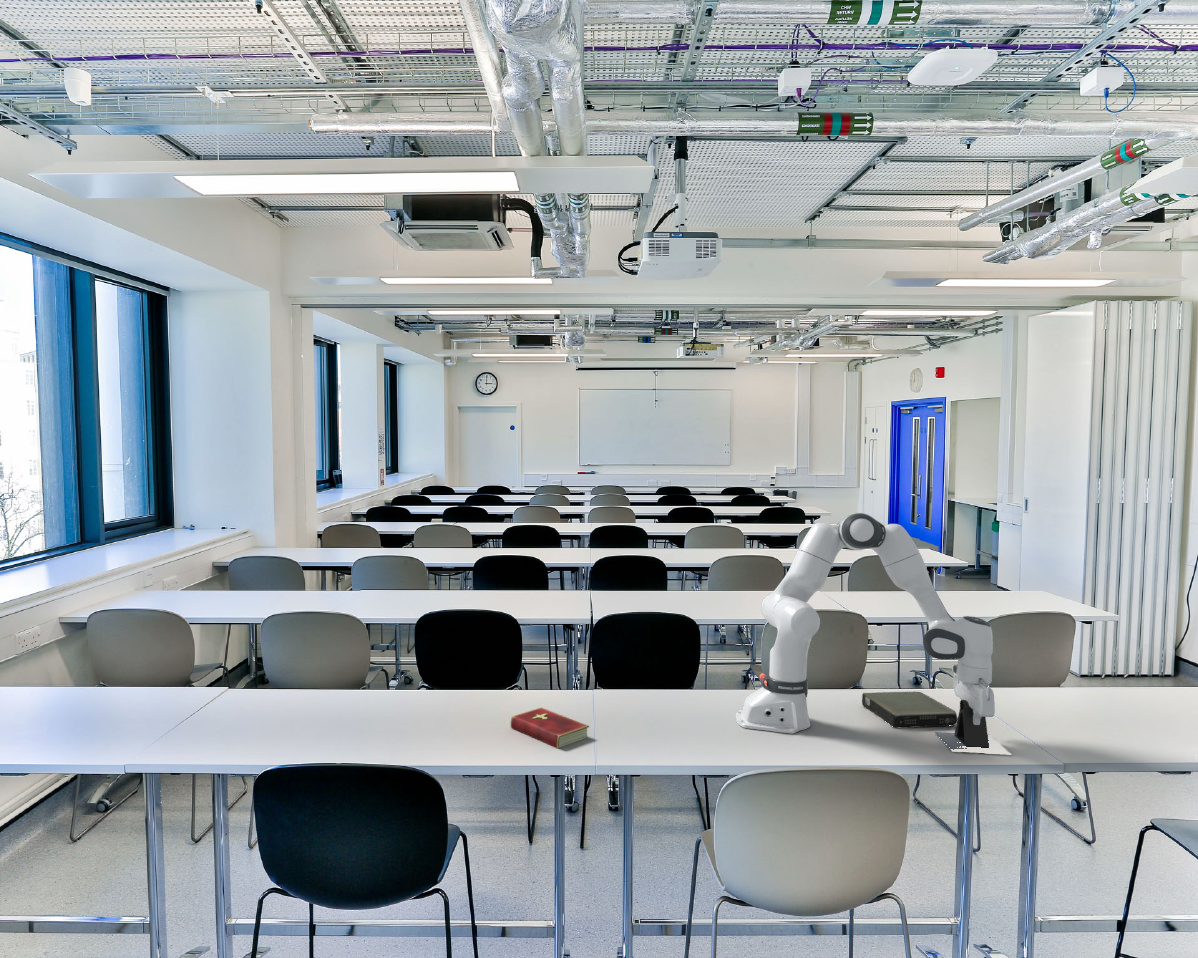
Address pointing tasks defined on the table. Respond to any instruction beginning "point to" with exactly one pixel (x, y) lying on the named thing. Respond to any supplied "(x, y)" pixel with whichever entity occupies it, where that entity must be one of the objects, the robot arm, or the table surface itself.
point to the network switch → (909, 709)
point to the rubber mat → (950, 740)
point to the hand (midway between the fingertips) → (972, 721)
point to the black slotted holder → (970, 728)
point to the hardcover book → (549, 727)
